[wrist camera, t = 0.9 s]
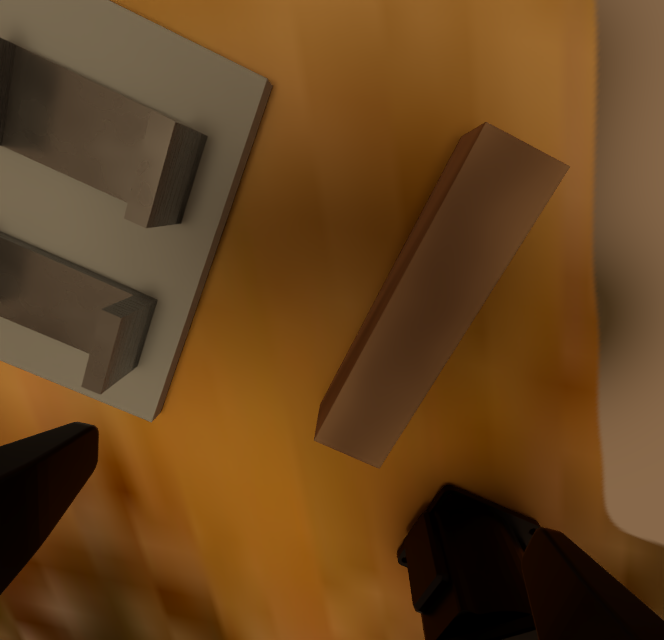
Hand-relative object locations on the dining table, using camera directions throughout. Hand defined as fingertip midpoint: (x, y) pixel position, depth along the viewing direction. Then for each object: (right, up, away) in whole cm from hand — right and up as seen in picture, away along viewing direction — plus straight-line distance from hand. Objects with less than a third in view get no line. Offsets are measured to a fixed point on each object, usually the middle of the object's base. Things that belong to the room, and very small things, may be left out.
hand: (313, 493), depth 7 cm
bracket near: (-10, +11, +9) cm, 17 cm away
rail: (+4, +5, +11) cm, 13 cm away
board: (-11, +8, +11) cm, 18 cm away
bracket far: (-13, +5, +11) cm, 18 cm away
